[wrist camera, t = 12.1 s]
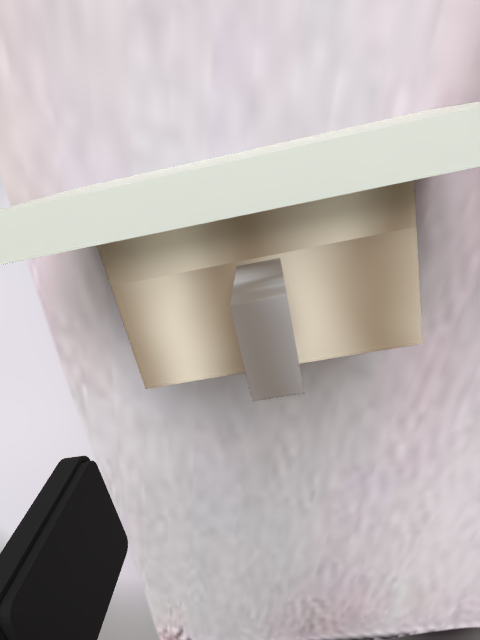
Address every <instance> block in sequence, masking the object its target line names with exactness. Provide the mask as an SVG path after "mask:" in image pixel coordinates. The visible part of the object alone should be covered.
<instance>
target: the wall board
mask: <svg viewBox="0 0 480 640" xmlns="http://www.w3.org/2000/svg"><path fill="white" fill-rule="evenodd" d="M475 167H480V102H473V103H467V104H461V105H455V106H448V107H442V108H436V109H430V110H425V111H421V112H416V113H412V114H407V115H403V116H398V117H394V118H389V119H385V120H380V121H376V122H371V123H367V124H362V125H358V126H353V127H349V128H344V129H340V130H335V131H331V132H327V133H322V134H318V135H313V136H309V137H304V138H300V139H295V140H291V141H286V142H282V143H277V144H273V145H268V146H264V147H259V148H255V149H250V150H246V151H241V152H237V153H232V154H228V155H223V156H219V157H214V158H210V159H205V160H201V161H197V162H192V163H188V164H183V165H179V166H174V167H170V168H165V169H161V170H156V171H152V172H147V173H143V174H138V175H134V176H129V177H125V178H120V179H116V180H111V181H107V182H102V183H98V184H93V185H89V186H84V187H80V188H75V189H71V190H67V191H64V192H60V193H56V194H53V195H49V196H46V197H42V198H39V199H35V200H32V201H28V202H24V203H21V204H17V205H14V206H10V207H7V208H3V209H0V265H4V264H8V263H13V262H18V261H23V260H28V259H33V258H38V257H42V256H47V255H52V254H57V253H62V252H67V251H72V250H76V249H81V248H86V247H91V246H96V245H101V244H106V243H110V242H115V241H120V240H125V239H130V238H135V237H140V236H145V235H149V234H154V233H159V232H164V231H169V230H174V229H179V228H183V227H188V226H193V225H198V224H203V223H208V222H213V221H217V220H222V219H227V218H232V217H237V216H242V215H247V214H251V213H256V212H261V211H266V210H271V209H276V208H281V207H285V206H290V205H295V204H300V203H305V202H310V201H315V200H319V199H324V198H329V197H334V196H339V195H344V194H349V193H353V192H358V191H363V190H368V189H373V188H378V187H383V186H388V185H392V184H397V183H402V182H407V181H412V180H417V179H422V178H426V177H431V176H436V175H441V174H446V173H451V172H456V171H460V170H465V169H470V168H475Z"/></svg>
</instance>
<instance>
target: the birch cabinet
mask: <svg viewBox="0 0 480 640" xmlns="http://www.w3.org/2000/svg"><path fill="white" fill-rule="evenodd" d="M97 247H98V250H99V253H100V256H101V259H102V262H103V265H104V267H105V270H106V273H107V276H108V279H109V282H110V285H111V288H112V291H113V294H114V297H115V300H116V303H117V306H118V309H119V312H120V315H121V318H122V320H123V323H124V326H125V329H126V332H127V335H128V338H129V341H130V344H131V347H132V350H133V353H134V356H135V359H136V362H137V365H138V368H139V371H140V373H141V376H142V379H143V382H144V385H145V388H146V389H148V388H154V387H161V386H167V385H173V384H179V383H185V382H191V381H197V380H203V379H209V378H215V377H221V376H228V375H234V374H240V373H246V376H247V380H248V384H249V389H250V393H251V397H252V401H258V400H264V399H271V398H277V397H283V396H290V395H296V394H303V393H304V388H303V383H302V377H301V371H300V366H299V364H301V363H307V362H313V361H319V360H325V359H331V358H337V357H343V356H349V355H356V354H362V353H368V352H374V351H380V350H386V349H392V348H398V347H404V346H410V345H416V344H423V339H422V320H421V301H420V283H419V264H418V245H417V227H416V208H415V189H414V180H412V181H407V182H402V183H397V184H392V185H388V186H383V187H378V188H373V189H368V190H363V191H358V192H353V193H349V194H344V195H339V196H334V197H329V198H324V199H319V200H315V201H310V202H305V203H300V204H295V205H290V206H285V207H281V208H276V209H271V210H266V211H261V212H256V213H251V214H247V215H242V216H237V217H232V218H227V219H222V220H217V221H213V222H208V223H203V224H198V225H193V226H188V227H183V228H179V229H174V230H169V231H164V232H159V233H154V234H149V235H145V236H140V237H135V238H130V239H125V240H120V241H115V242H110V243H106V244H101V245H97Z"/></svg>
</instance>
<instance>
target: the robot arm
mask: <svg viewBox="0 0 480 640" xmlns="http://www.w3.org/2000/svg"><path fill="white" fill-rule="evenodd" d="M127 548H128V540H127V536H126V533H125V531H124V529H123V526H122V524H121V521H120V519H119V517H118V514H117V512H116V509H115V507H114V505H113V502H112V500H111V497H110V495H109V493H108V490H107V488H106V485H105V483H104V481H103V478H102V476H101V473H100V471H99V469H98V466H97V464H96V463H95V462H94V461H90V459H89V458H88V457H87V456H79V457H72V458H65V459H62V460H61V461H60V462H59V463H58V465H57V466H56V468H55V470H54V471H53V473H52V474H51V476H50V477H49V479H48V480H47V482H46V484H45V485H44V487H43V488H42V490H41V492H40V493H39V494H38V496H37V498H36V499H35V501H34V502H33V504H32V505H31V507H30V508H29V510H28V512H27V513H26V515H25V516H24V518H23V519H22V521H21V522H20V524H19V526H18V527H17V529H16V530H15V532H14V533H13V535H12V537H11V538H10V540H9V541H8V543H7V544H6V546H5V547H4V549H3V551H2V552H1V554H0V640H97V638H98V636H99V633H100V630H101V627H102V624H103V621H104V618H105V615H106V612H107V609H108V606H109V603H110V600H111V597H112V594H113V591H114V588H115V586H116V583H117V580H118V577H119V574H120V571H121V568H122V565H123V562H124V559H125V556H126V553H127Z"/></svg>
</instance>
